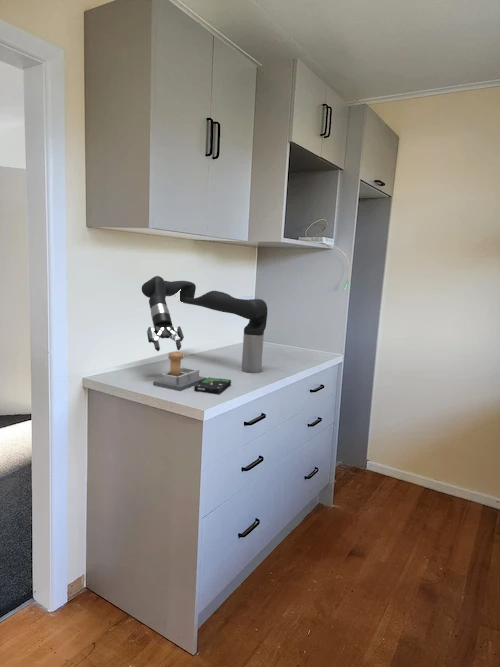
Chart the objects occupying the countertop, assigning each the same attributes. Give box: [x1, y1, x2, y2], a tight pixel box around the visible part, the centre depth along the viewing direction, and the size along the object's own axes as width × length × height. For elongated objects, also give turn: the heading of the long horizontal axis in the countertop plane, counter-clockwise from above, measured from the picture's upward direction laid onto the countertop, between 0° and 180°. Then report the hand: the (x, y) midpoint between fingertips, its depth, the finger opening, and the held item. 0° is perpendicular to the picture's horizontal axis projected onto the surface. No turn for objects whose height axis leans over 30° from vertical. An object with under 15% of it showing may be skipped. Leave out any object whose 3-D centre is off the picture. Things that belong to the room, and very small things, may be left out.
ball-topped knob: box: [168, 351, 184, 377], centre depth 175 cm, size 6×6×11 cm
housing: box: [152, 366, 207, 392], centre depth 178 cm, size 18×13×4 cm
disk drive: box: [193, 377, 232, 395], centre depth 174 cm, size 10×3×15 cm
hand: (168, 349), depth 177 cm, fingers open, 8 cm apart
